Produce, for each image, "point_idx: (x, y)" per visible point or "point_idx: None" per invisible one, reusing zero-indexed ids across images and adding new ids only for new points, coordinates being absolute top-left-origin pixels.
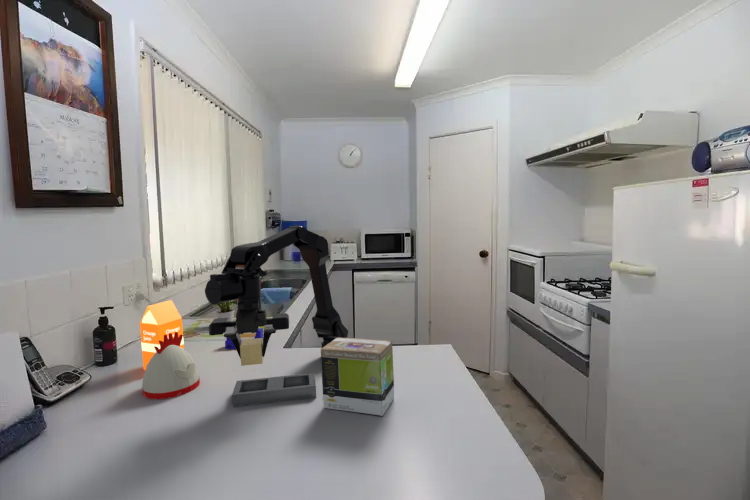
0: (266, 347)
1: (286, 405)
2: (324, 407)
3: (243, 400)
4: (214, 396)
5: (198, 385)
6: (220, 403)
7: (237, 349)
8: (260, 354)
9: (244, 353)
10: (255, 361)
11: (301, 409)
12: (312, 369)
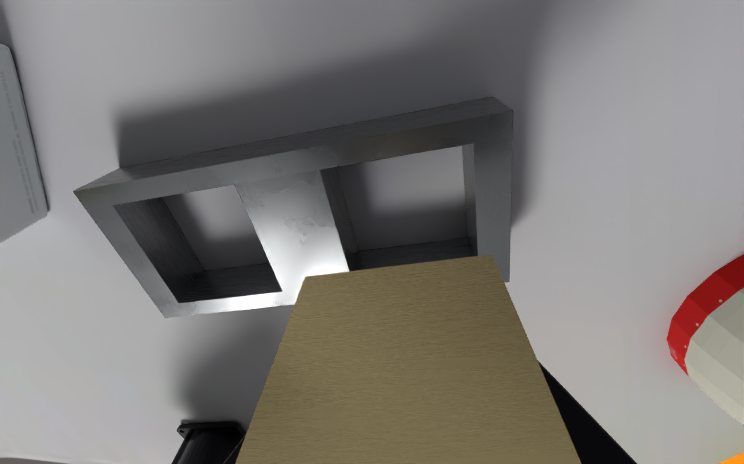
0: (240, 441)
1: (218, 97)
2: (2, 45)
3: (439, 114)
4: (598, 218)
5: (674, 317)
6: (562, 145)
7: (594, 437)
8: (292, 345)
9: (478, 356)
10: (357, 287)
11: (120, 43)
12: (251, 378)
